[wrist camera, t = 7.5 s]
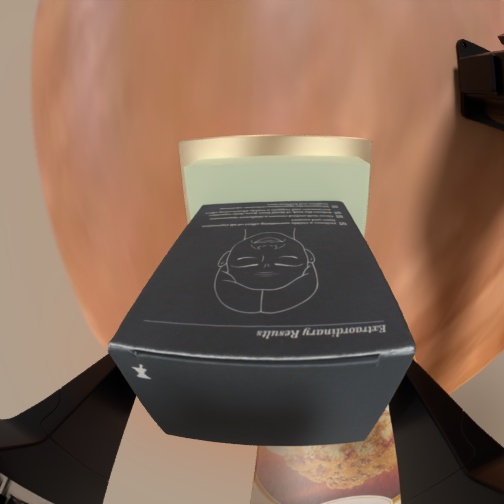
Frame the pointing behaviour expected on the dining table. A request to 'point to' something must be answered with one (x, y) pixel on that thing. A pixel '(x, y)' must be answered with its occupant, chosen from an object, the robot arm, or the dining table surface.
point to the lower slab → (270, 149)
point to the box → (266, 329)
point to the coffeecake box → (330, 471)
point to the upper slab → (280, 181)
